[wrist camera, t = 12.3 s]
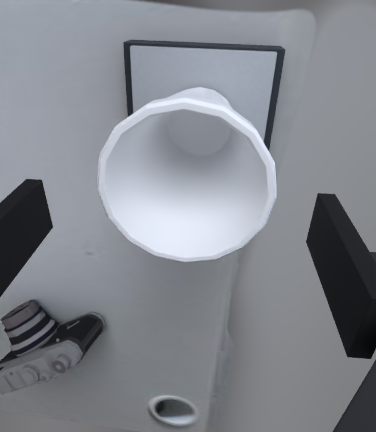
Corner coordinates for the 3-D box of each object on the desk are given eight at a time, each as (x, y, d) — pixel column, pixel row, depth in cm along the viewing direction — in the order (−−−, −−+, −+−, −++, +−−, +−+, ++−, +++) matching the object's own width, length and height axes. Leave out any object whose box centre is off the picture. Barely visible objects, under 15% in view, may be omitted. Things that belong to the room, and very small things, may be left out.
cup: (170, 189, 33) (143, 279, 22) (123, 89, 29) (59, 140, 18) (271, 155, 31) (297, 240, 20) (236, 40, 26) (245, 64, 15)
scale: (130, 39, 30) (118, 43, 27) (280, 46, 29) (288, 51, 26) (137, 175, 37) (128, 192, 33) (259, 183, 36) (263, 201, 33)
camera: (80, 276, 47) (34, 316, 38) (111, 327, 49) (73, 378, 39) (2, 309, 52) (-56, 352, 43) (32, 355, 54) (-18, 406, 44)
